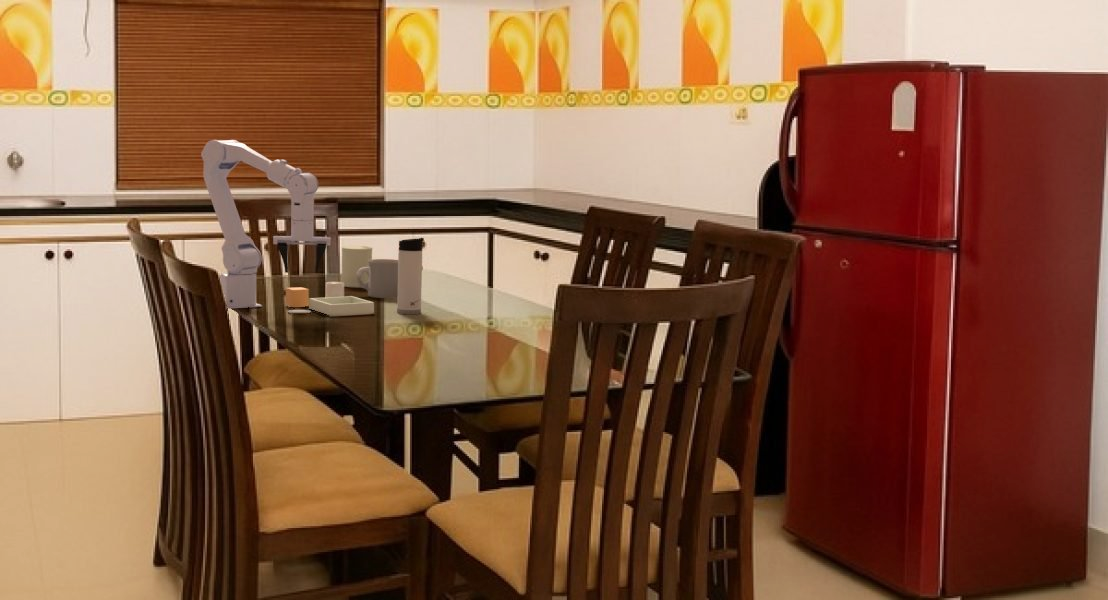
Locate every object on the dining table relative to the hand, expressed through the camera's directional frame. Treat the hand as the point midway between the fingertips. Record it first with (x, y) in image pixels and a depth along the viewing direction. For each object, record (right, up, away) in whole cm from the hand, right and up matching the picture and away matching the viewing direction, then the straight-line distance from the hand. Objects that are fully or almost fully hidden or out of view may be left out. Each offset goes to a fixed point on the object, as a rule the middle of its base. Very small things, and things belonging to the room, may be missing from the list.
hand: (301, 272), depth 359 cm
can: (+6, -3, +58) cm, 58 cm away
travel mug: (+27, -11, +7) cm, 30 cm away
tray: (+9, -10, +5) cm, 15 cm away
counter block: (-3, -9, +10) cm, 14 cm away
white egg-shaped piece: (+6, -9, +17) cm, 20 cm away
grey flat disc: (-1, -11, 0) cm, 11 cm away
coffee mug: (+15, -6, +38) cm, 41 cm away
